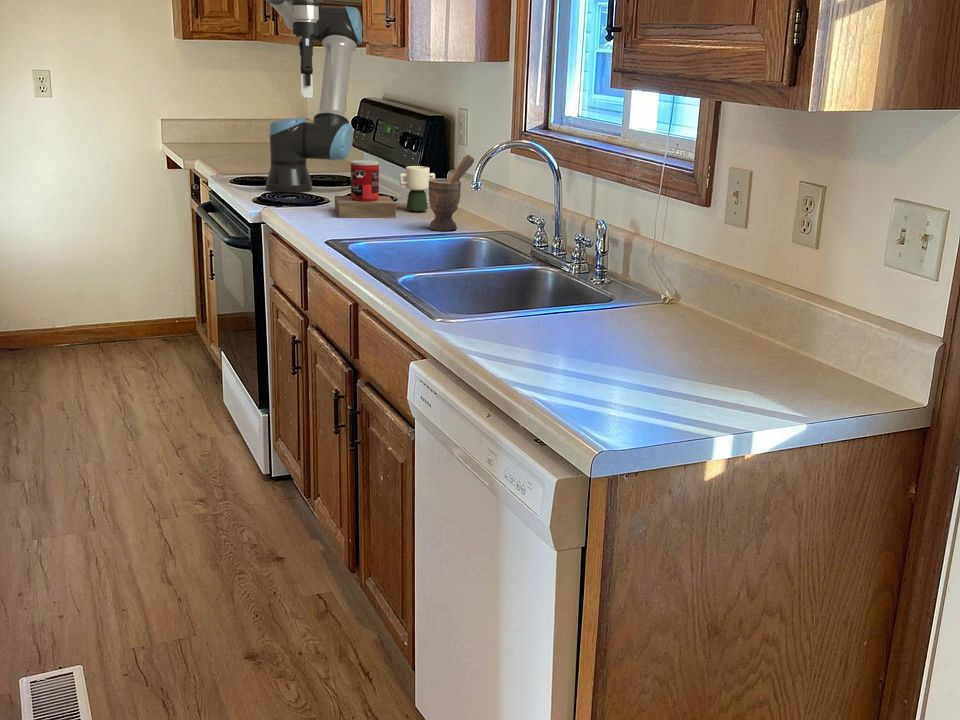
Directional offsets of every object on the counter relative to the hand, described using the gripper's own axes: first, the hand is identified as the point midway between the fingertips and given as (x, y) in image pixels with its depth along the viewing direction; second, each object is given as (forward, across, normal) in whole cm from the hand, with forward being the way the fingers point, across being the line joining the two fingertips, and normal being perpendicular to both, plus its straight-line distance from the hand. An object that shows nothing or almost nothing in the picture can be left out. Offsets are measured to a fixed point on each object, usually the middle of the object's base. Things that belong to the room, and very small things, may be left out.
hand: (306, 96), depth 299 cm
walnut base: (+32, +21, +15) cm, 41 cm away
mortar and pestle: (+32, +48, +35) cm, 67 cm away
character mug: (+32, +17, +31) cm, 48 cm away
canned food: (+28, +22, +15) cm, 38 cm away
